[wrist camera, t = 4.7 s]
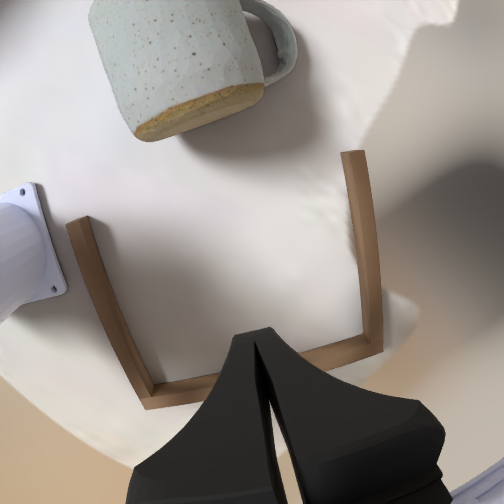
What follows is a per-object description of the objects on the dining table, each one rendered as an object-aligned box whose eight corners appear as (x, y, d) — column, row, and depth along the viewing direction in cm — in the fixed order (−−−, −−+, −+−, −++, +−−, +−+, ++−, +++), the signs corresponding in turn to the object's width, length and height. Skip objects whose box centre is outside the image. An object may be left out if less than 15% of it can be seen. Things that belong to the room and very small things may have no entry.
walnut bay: (148, 397, 23) (145, 410, 22) (74, 219, 19) (65, 224, 17) (375, 342, 24) (383, 351, 22) (354, 150, 20) (364, 149, 18)
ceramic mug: (149, 153, 18) (113, 148, 11) (110, 43, 16) (65, -8, 8) (311, 95, 18) (365, 64, 11) (265, -9, 16) (292, -74, 9)
